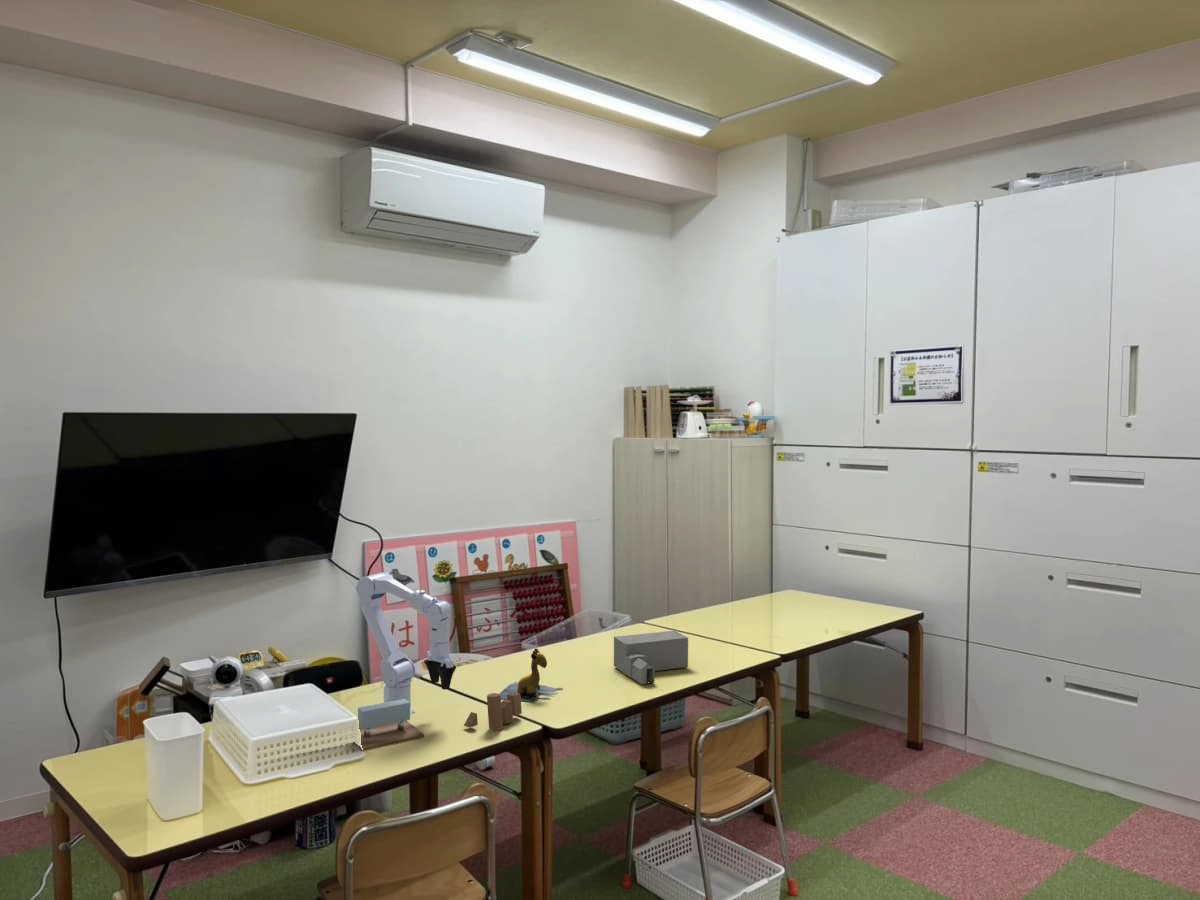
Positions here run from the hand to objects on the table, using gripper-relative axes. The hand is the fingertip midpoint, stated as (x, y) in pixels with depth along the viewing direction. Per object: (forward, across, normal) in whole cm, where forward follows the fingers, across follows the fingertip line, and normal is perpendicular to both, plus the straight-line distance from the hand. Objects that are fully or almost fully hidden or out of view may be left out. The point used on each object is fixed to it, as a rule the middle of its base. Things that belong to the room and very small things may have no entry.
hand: (440, 685), depth 265 cm
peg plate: (+10, +4, -19) cm, 22 cm away
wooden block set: (+11, +15, +11) cm, 22 cm away
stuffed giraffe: (+11, -5, +34) cm, 36 cm away
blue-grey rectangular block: (+6, +4, -19) cm, 21 cm away
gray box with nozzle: (+11, -1, +86) cm, 87 cm away
